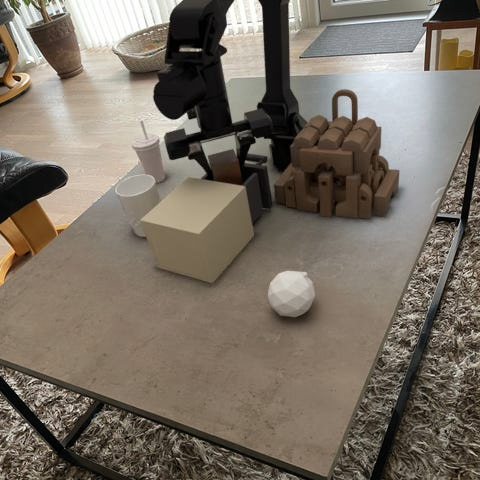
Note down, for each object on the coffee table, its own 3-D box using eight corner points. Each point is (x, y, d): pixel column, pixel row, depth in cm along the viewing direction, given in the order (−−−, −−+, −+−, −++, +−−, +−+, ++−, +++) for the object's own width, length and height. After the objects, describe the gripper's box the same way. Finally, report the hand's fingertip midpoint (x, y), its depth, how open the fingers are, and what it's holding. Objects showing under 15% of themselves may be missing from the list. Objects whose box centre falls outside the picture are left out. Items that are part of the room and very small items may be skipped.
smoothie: (165, 185, 112) (147, 126, 102) (140, 186, 114) (120, 129, 104) (173, 171, 116) (157, 113, 106) (149, 172, 118) (130, 115, 108)
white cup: (139, 244, 97) (122, 201, 90) (127, 226, 102) (110, 184, 95) (174, 228, 99) (160, 185, 92) (161, 212, 104) (147, 169, 97)
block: (237, 173, 94) (233, 148, 90) (243, 185, 90) (238, 160, 87) (212, 179, 94) (207, 155, 90) (217, 192, 90) (211, 167, 86)
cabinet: (201, 223, 98) (188, 176, 91) (254, 235, 93) (245, 186, 85) (157, 267, 91) (139, 220, 83) (212, 283, 85) (198, 233, 77)
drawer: (237, 185, 105) (229, 147, 99) (283, 193, 99) (279, 153, 93) (188, 234, 95) (177, 194, 89) (237, 245, 90) (229, 204, 83)
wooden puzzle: (271, 209, 98) (258, 118, 85) (299, 172, 106) (291, 84, 93) (380, 224, 88) (385, 124, 75) (401, 182, 97) (409, 85, 84)
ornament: (274, 291, 80) (300, 254, 76) (306, 321, 78) (334, 284, 74) (250, 299, 75) (276, 259, 71) (283, 332, 73) (312, 293, 68)
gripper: (253, 64, 86) (264, 147, 97) (151, 90, 86) (174, 170, 97) (268, 84, 78) (279, 172, 89) (155, 113, 78) (180, 198, 89)
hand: (226, 177), depth 91 cm, fingers closed on block, 5 cm apart
